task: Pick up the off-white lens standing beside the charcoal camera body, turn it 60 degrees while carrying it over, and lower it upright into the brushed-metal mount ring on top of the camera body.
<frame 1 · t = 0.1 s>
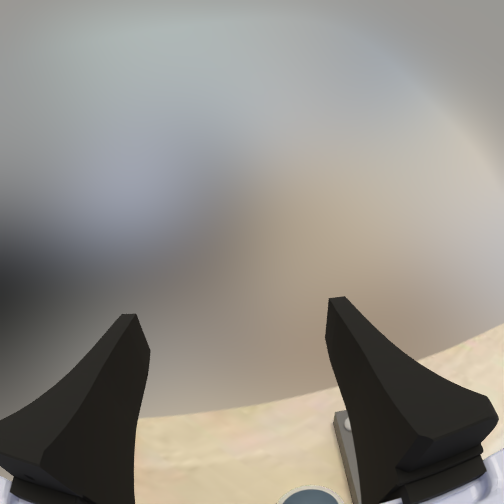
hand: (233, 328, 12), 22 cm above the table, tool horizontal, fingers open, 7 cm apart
camera body: (402, 464, 23), on the table
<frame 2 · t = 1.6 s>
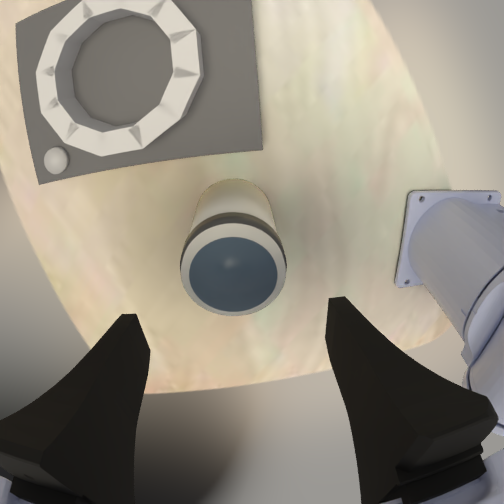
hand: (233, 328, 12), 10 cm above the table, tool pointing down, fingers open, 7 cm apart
lens: (233, 214, 21), on the table
camera body: (133, 70, 16), on the table
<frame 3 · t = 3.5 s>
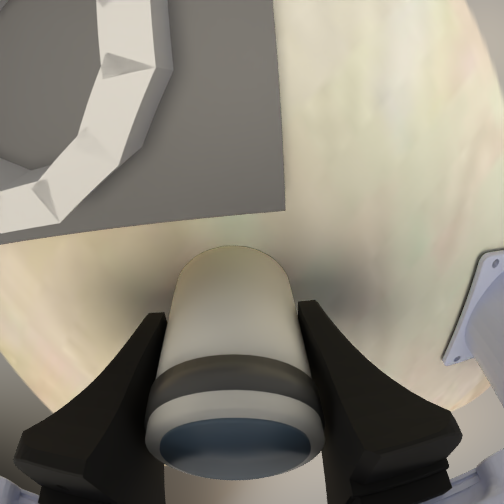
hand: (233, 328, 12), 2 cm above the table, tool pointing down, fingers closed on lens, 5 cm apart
lens: (233, 296, 13), on the table, touching gripper
camera body: (64, 69, 8), on the table
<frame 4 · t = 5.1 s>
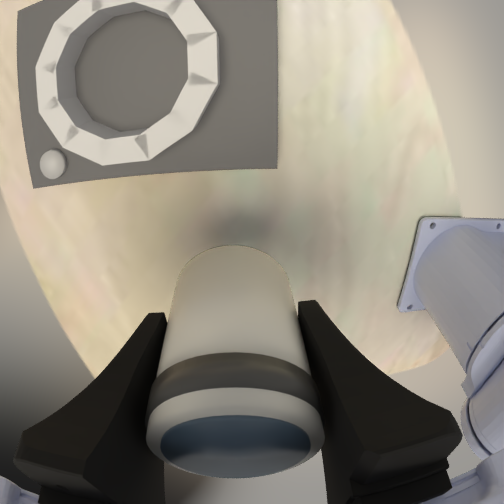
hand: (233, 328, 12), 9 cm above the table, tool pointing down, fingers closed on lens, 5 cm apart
lens: (233, 295, 14), point 7 cm above the table, touching gripper
camera body: (141, 70, 15), on the table
when the fingers open (5 cm above the table, at t = 7.1 s): lens drops 1 cm, resting on camera body.
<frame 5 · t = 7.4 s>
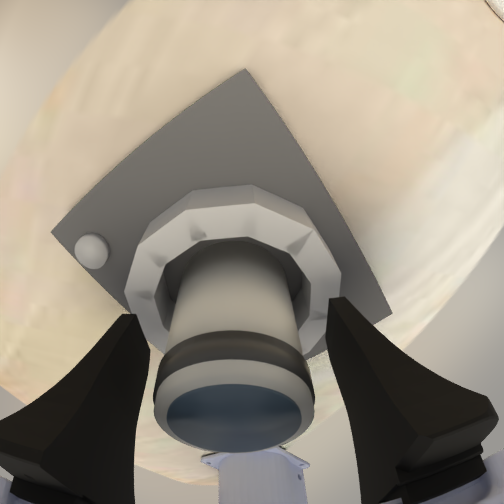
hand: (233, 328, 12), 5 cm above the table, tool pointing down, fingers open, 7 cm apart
lens: (234, 287, 15), point 2 cm above the table, touching camera body
camera body: (233, 256, 16), on the table
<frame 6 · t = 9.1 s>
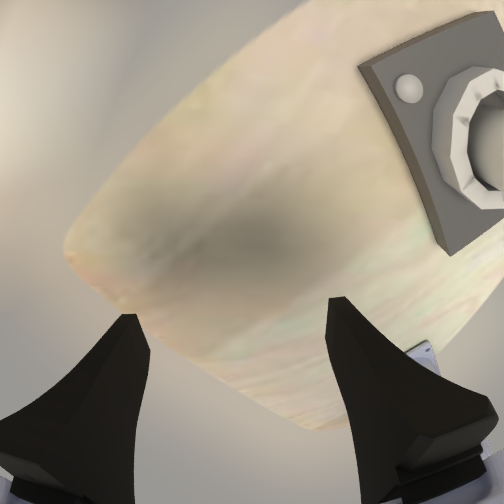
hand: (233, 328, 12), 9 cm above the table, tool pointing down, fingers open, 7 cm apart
lens: (483, 141, 16), point 2 cm above the table, touching camera body
camera body: (465, 128, 17), on the table
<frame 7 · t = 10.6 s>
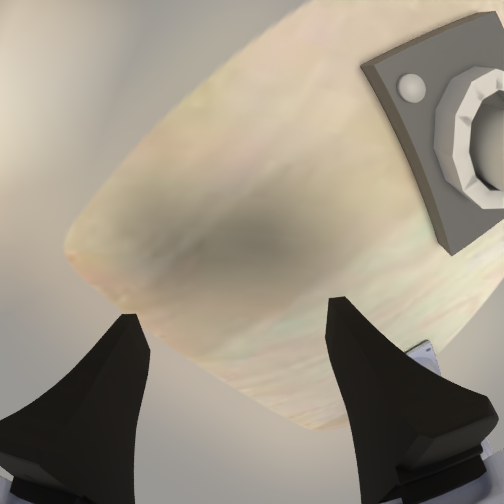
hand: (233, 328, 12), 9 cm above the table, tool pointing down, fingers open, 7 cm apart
lens: (485, 141, 15), point 2 cm above the table, touching camera body
camera body: (467, 127, 17), on the table
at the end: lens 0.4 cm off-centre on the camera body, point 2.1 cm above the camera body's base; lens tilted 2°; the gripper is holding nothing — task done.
